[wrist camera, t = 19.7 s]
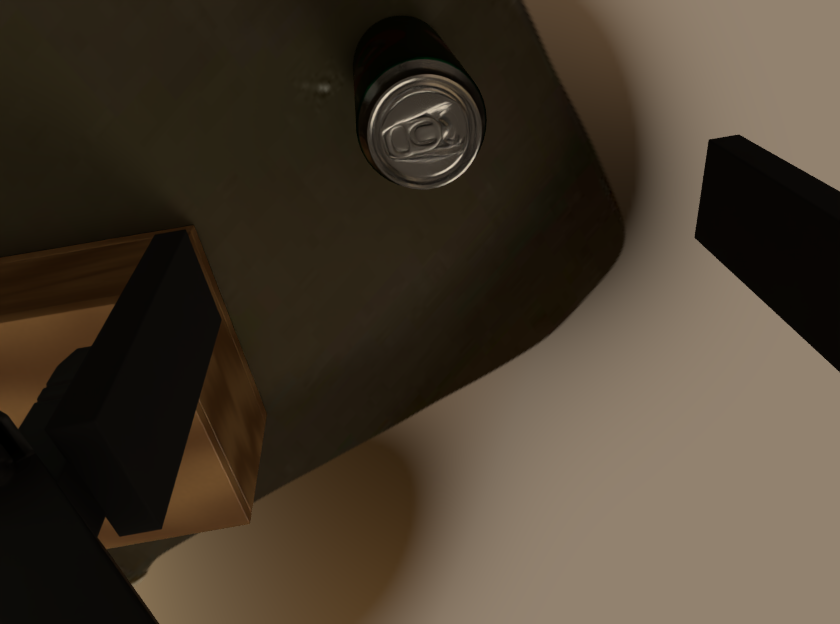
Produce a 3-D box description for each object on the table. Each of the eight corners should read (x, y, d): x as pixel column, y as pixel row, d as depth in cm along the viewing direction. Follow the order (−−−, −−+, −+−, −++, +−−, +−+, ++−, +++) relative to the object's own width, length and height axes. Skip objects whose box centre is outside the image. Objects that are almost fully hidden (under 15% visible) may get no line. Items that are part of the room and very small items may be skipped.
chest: (-35, 262, 36) (-134, 354, 28) (194, 224, 36) (155, 305, 28) (84, 445, 45) (33, 550, 37) (267, 413, 45) (251, 512, 37)
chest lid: (-146, 339, 28) (-158, 350, 27) (147, 289, 28) (143, 298, 27) (32, 551, 37) (26, 563, 36) (251, 513, 37) (250, 524, 37)
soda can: (455, 100, 33) (501, 180, 23) (367, 124, 34) (377, 212, 24) (436, 2, 30) (480, 45, 21) (340, 28, 31) (338, 83, 21)
